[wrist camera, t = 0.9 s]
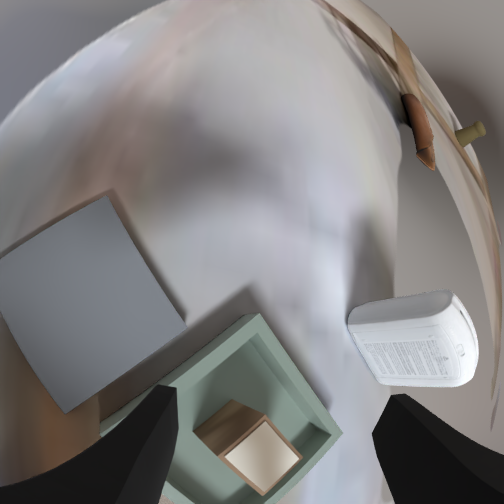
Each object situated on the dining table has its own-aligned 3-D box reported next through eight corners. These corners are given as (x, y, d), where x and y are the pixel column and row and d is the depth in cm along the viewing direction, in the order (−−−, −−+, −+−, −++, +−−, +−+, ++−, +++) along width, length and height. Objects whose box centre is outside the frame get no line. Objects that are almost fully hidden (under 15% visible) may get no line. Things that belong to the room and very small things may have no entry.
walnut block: (231, 469, 18) (263, 496, 14) (192, 431, 18) (217, 457, 14) (266, 438, 20) (304, 457, 16) (231, 398, 20) (266, 414, 16)
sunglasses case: (436, 173, 50) (450, 154, 44) (408, 166, 51) (420, 145, 44) (420, 116, 56) (430, 97, 50) (395, 109, 57) (403, 89, 51)
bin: (218, 525, 16) (230, 539, 14) (99, 422, 15) (99, 434, 13) (324, 427, 23) (343, 432, 21) (243, 314, 23) (259, 312, 21)
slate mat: (66, 410, 15) (65, 414, 14) (-12, 273, 14) (-17, 271, 13) (184, 327, 20) (187, 327, 19) (106, 200, 20) (106, 195, 19)
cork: (456, 139, 71) (481, 125, 61) (453, 128, 73) (477, 114, 64) (465, 150, 73) (489, 138, 63) (461, 139, 75) (485, 127, 66)
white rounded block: (395, 362, 30) (488, 357, 20) (379, 389, 28) (478, 392, 17) (359, 297, 29) (464, 274, 19) (338, 324, 27) (454, 308, 17)
